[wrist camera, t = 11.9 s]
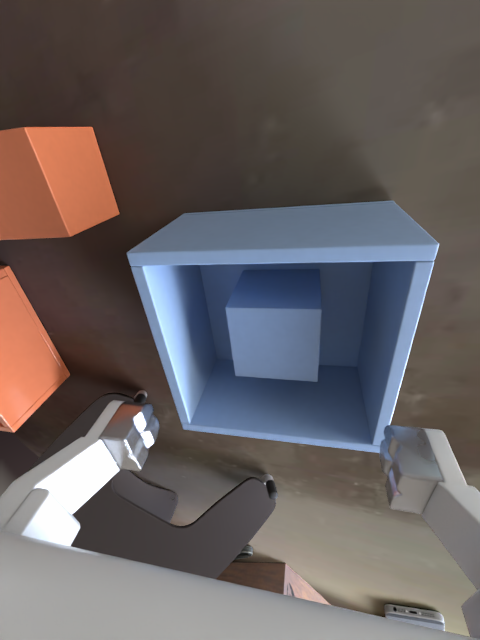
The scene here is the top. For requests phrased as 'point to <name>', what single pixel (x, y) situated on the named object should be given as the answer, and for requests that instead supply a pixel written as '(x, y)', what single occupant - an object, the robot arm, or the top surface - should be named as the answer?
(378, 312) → the slate bin
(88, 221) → the terracotta block
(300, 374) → the slate block
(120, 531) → the laptop stand
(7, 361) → the terracotta bin
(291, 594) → the tissue box cover
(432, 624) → the phone
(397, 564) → the top surface
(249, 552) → the composite cable
